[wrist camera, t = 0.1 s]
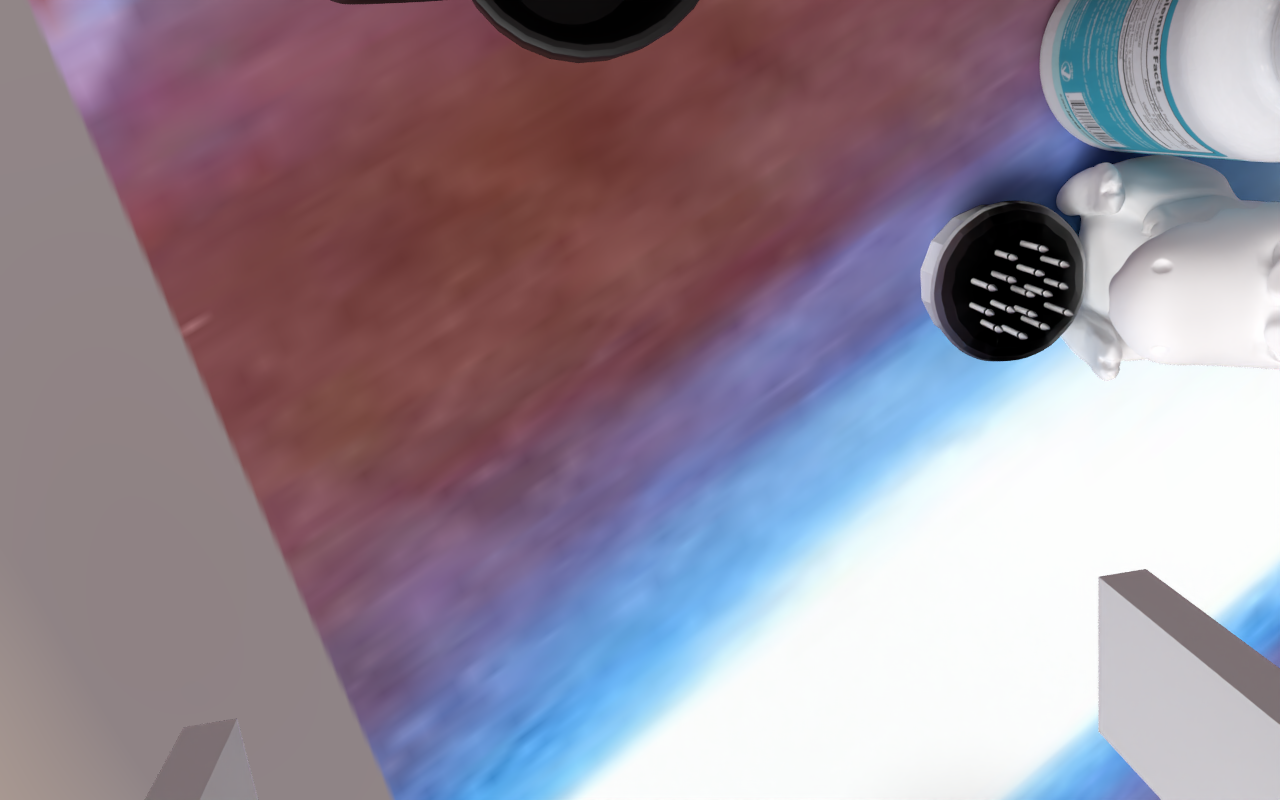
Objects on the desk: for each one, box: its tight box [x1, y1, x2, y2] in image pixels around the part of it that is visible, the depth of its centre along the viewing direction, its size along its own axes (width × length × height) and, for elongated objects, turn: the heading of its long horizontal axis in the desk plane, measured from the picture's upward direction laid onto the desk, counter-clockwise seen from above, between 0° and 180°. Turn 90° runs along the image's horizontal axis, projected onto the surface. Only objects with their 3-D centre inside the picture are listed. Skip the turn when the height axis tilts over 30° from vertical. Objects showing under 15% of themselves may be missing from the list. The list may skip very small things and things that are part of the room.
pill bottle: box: [1040, 0, 1280, 162], centre depth 36 cm, size 8×7×14 cm
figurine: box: [921, 155, 1280, 381], centre depth 39 cm, size 8×18×12 cm, turn 96°
